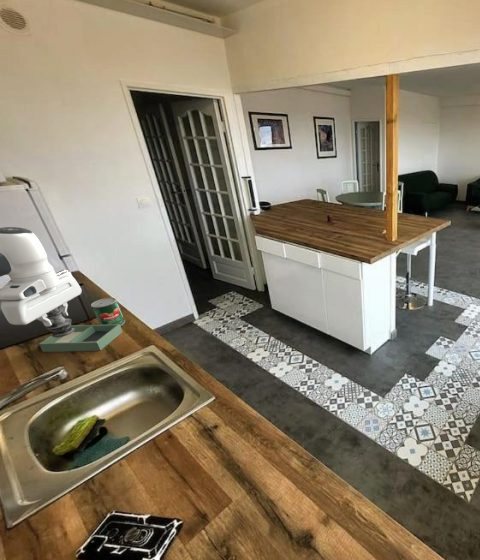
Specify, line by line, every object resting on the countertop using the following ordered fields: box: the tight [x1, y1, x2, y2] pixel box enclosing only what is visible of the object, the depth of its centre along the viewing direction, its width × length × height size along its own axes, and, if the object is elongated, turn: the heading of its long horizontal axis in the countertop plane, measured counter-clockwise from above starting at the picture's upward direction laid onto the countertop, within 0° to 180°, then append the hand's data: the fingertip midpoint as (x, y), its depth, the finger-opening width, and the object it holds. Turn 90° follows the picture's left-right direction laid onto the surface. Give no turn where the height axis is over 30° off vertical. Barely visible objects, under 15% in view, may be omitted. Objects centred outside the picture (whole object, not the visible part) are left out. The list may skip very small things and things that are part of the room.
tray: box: [38, 324, 123, 353], centre depth 120 cm, size 12×20×4 cm, turn 95°
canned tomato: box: [90, 297, 126, 326], centre depth 129 cm, size 8×8×11 cm
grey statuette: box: [45, 307, 75, 338], centre depth 97 cm, size 6×6×12 cm
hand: (57, 320), depth 97 cm, fingers closed on grey statuette, 3 cm apart
